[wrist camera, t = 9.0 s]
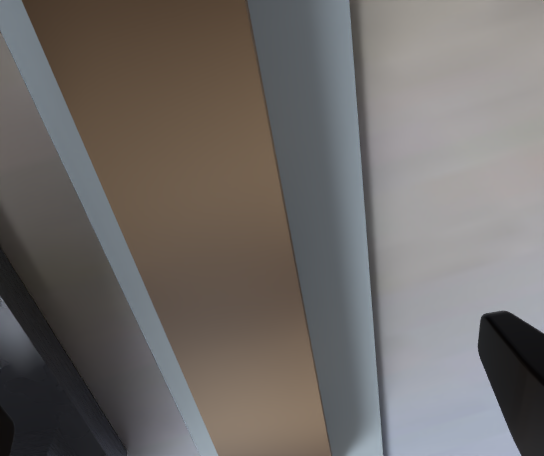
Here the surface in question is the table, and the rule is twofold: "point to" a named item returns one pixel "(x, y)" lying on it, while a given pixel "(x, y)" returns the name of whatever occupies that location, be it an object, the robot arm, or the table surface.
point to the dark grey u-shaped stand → (44, 384)
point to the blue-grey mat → (297, 194)
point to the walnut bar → (197, 202)
